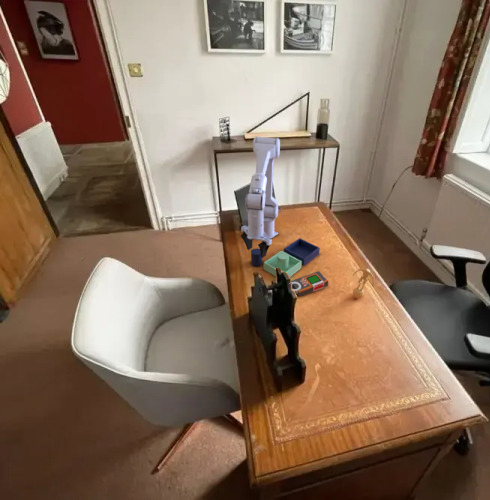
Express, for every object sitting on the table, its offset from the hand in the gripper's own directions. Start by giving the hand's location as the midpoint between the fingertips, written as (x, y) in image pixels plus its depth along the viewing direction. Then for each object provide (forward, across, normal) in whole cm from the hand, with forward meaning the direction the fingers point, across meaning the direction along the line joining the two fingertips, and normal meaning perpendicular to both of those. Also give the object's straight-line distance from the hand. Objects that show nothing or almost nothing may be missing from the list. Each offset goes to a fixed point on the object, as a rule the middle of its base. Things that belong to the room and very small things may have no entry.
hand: (256, 252), depth 126 cm
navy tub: (+6, +10, +17) cm, 21 cm away
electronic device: (+6, +24, +2) cm, 24 cm away
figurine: (+6, +40, +12) cm, 43 cm away
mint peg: (+5, +10, +4) cm, 12 cm away
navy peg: (+6, 0, 0) cm, 6 cm away
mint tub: (+6, +10, +5) cm, 12 cm away
